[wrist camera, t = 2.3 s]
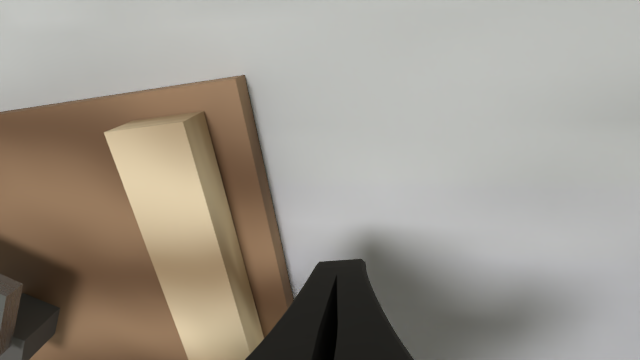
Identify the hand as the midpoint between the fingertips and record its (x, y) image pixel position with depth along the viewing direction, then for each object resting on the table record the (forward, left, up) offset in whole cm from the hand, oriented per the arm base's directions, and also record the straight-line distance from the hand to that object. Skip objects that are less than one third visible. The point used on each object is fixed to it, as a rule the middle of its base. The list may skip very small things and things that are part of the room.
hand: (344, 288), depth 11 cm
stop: (-4, +17, -5) cm, 18 cm away
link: (-3, +7, -5) cm, 9 cm away
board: (-3, +12, -6) cm, 13 cm away
